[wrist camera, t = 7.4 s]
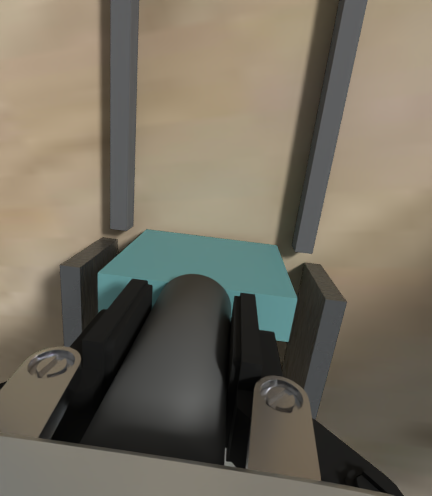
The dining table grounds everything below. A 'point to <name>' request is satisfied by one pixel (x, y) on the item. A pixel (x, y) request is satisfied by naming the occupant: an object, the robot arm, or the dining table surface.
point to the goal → (302, 331)
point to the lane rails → (324, 131)
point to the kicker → (185, 340)
